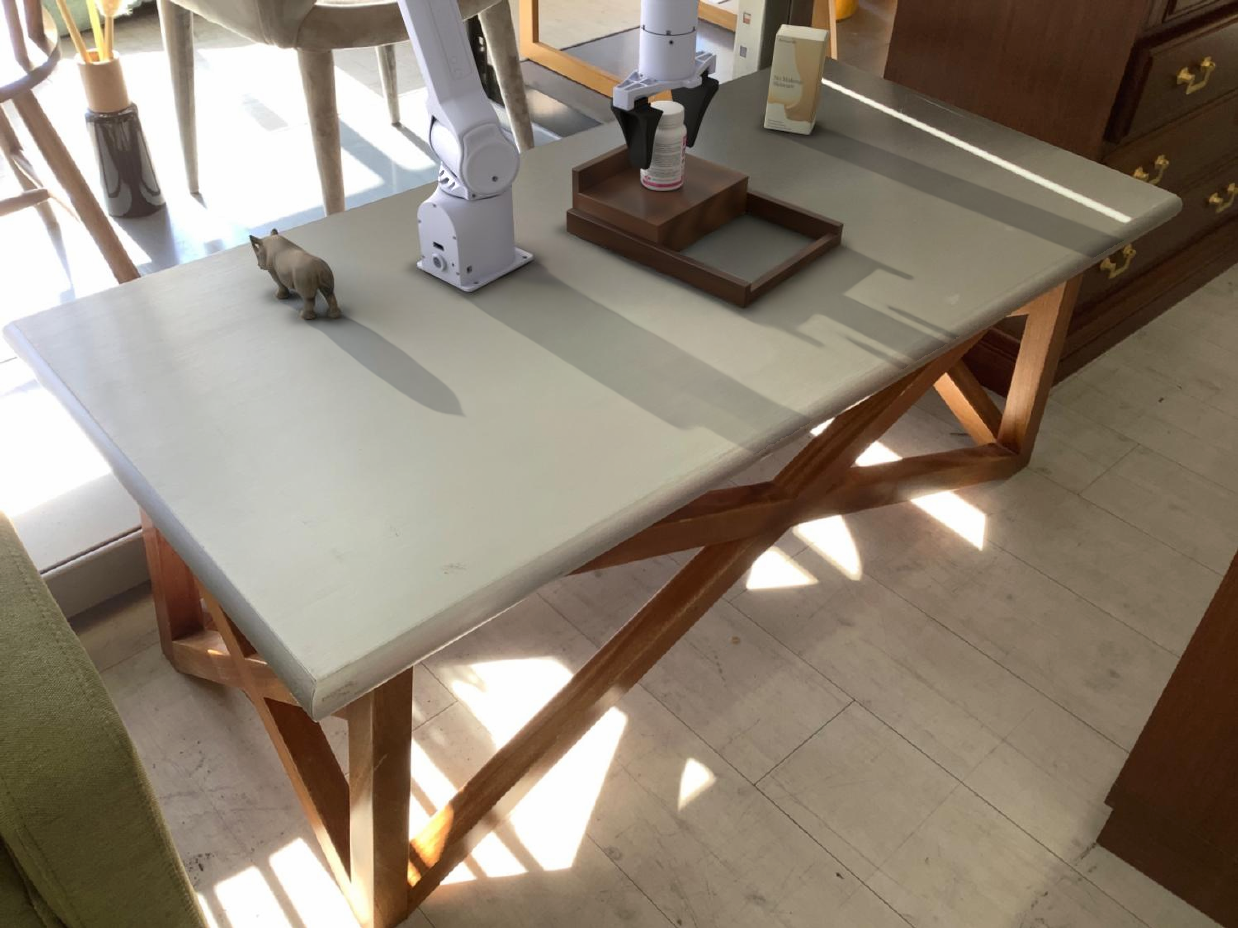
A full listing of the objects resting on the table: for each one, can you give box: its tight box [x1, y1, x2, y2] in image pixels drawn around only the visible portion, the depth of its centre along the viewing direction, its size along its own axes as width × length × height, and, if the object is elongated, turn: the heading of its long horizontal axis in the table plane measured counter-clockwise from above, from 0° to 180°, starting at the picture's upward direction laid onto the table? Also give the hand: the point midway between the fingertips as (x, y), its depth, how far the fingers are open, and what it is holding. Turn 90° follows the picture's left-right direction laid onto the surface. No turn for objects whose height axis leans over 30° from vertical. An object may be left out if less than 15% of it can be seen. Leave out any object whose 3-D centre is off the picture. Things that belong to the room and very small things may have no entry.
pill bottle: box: [640, 100, 687, 191], centre depth 118 cm, size 5×5×8 cm
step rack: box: [565, 143, 844, 309], centre depth 119 cm, size 18×24×7 cm
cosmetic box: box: [763, 23, 830, 136], centre depth 141 cm, size 6×4×12 cm
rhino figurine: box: [248, 227, 342, 320], centre depth 109 cm, size 4×14×6 cm, turn 43°
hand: (662, 155), depth 119 cm, fingers open, 7 cm apart
